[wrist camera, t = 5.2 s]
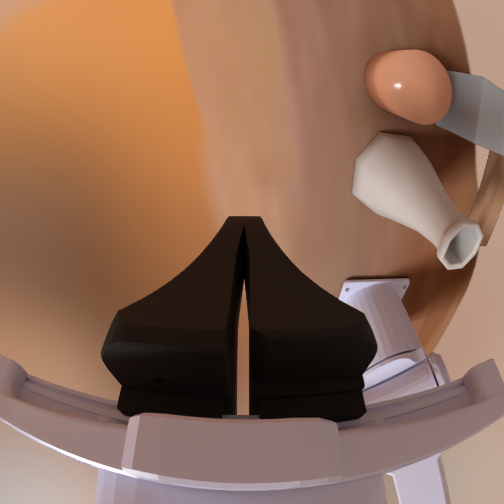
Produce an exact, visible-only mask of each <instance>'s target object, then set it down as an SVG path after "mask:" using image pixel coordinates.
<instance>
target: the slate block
mask: <svg viewBox="0 0 504 504" xmlns="http://www.w3.org/2000/svg"><path fill="white" fill-rule="evenodd" d="M446 71H447V73H448V76H449V78H450V82H451V87H452V100H451V104H450V107H449V110H448V111H447V113H446V115H445V116H444V117H443V118H442V119H441V120H440V121H438V122H436V125H437V126H439V127H441V128H444V129H446V130H448V131H450V132H452V133H454V134H456V135H459V136H461V137H463V138H465V139H467V140H468V141H470V142H472V143H474V144H477V145H480V146H482V147H484V148H487V149H489V150H492V151H494V152H496V153H498V154H501V155H503V156H504V90H502V89H501V88H499V87H497V86H496V85H495V84H493V83H492V82H490V81H488V80H487V79H485V78H484V77H481V76H476V75H471V74H466V73H460V72H454V71H448V70H446Z"/></svg>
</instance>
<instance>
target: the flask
mask: <svg viewBox="0 0 504 504" xmlns="http://www.w3.org/2000/svg"><path fill="white" fill-rule="evenodd" d="M352 194H353V195H354V196H356V197H357V198H358V199H359V200H360V201H361V202H363V203H364V204H365V205H366V206H367V207H368V208H369V209H371V210H372V211H373V212H374V213H376V214H379V215H381V216H384V217H386V218H389V219H392V220H394V221H397V222H399V223H401V224H403V225H405V226H407V227H409V228H412V229H414V230H416V231H418V232H419V233H421V234H422V235H423V236H424V237H426V238H427V239H428V240H429V241H431V242H432V243H433V244H434V245H435V246H436V248H437V257H438V258H439V260H440V261H441V262H442V263H443V264H444V266H445V267H446V268H447V269H448V270H451V269H460V268H463V267H464V266H465V265H466V264H467V263H468V262H469V261H470V260H471V259H472V258H473V257H474V256H475V255H476V253H477V251H478V249H479V246H480V244H481V242H482V239H483V237H484V234H483V232H482V230H481V228H480V226H479V224H478V223H477V222H476V221H475V220H473V219H466V218H465V217H464V216H463V215H462V214H461V213H460V212H459V211H458V210H457V209H456V208H455V206H454V205H453V203H452V202H451V201H450V199H449V198H448V196H447V194H446V192H445V190H444V188H443V186H442V184H441V182H440V180H439V178H438V176H437V174H436V172H435V170H434V168H433V166H432V164H431V162H430V161H429V159H428V158H427V156H426V155H425V154H424V153H423V151H422V150H421V149H420V148H419V146H418V145H417V144H416V143H415V141H414V140H413V139H412V138H411V137H410V136H404V135H397V134H390V133H382V132H379V133H378V134H377V135H376V137H375V138H374V139H373V140H372V141H371V142H370V144H369V145H368V146H367V147H366V148H365V149H364V151H363V152H362V153H361V154H360V155H359V156H358V157H357V159H356V164H355V173H354V181H353V189H352Z"/></svg>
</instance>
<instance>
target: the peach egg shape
mask: <svg viewBox="0 0 504 504" xmlns="http://www.w3.org/2000/svg"><path fill="white" fill-rule="evenodd" d="M364 81H365V86H366V89H367V92H368V94H369V96H370V98H371V99H372V100H373V102H374V103H375V104H376V105H377V106H379V107H380V108H381V109H383V110H385V111H387V112H390V113H392V114H395V115H397V116H400V117H403V118H405V119H408V120H410V121H412V122H415V123H417V124H421V125H430V124H434V123H436V122H438V121H440V120H441V119H442V118H443V117H444V116H445V115H446V113H447V111H448V110H449V107H450V104H451V100H452V87H451V82H450V78H449V76H448V73H447V71H446V70H445V68H444V66H443V65H442V64H441V63H440V61H439V60H438V59H436V58H435V57H434V56H433V55H431V54H429V53H427V52H425V51H422V50H394V51H383V52H380V53H377V54H376V55H374V56H373V57H372V58H371V59H370V60H369V62H368V63H367V66H366V68H365V73H364Z"/></svg>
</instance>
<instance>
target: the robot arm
mask: <svg viewBox="0 0 504 504" xmlns="http://www.w3.org/2000/svg"><path fill="white" fill-rule="evenodd" d="M244 280H245V291H246V301H247V311H248V320H249V415H237V346H238V322H239V313H240V306H241V299H242V291H243V283H244ZM409 284H410V280H409V279H408V278H397V279H367V280H347V281H345V282H344V284H343V287H342V290H341V293H340V296H339V299H337V298H336V297H334V296H333V295H331V294H330V293H328V292H327V291H325V290H324V289H322V288H321V287H320V286H318V285H317V284H316V283H314V282H313V281H312V280H311V279H309V278H308V277H307V276H306V275H305V274H303V273H302V272H301V271H300V270H299V269H298V268H297V267H296V266H295V265H294V264H293V263H292V262H291V260H290V259H289V258H288V257H287V256H286V255H285V253H284V252H283V251H282V250H281V248H280V247H279V246H278V244H277V243H276V242H275V240H274V239H273V237H272V236H271V234H270V233H269V231H268V229H267V228H266V226H265V224H264V222H263V220H262V218H261V217H260V216H229V217H228V218H227V219H226V221H225V223H224V224H223V226H222V227H221V229H220V230H219V232H218V233H217V234H216V236H215V237H214V238H213V240H212V241H211V242H210V243H209V245H208V246H207V247H206V248H205V249H204V250H203V252H202V253H201V254H200V255H199V256H198V257H197V258H196V259H195V260H194V261H193V262H192V263H191V264H190V265H189V266H188V267H187V268H186V269H185V270H183V271H182V272H181V273H180V274H179V275H177V276H176V277H175V278H173V279H172V280H171V281H169V282H168V283H167V284H165V285H164V286H162V287H161V288H159V289H158V290H156V291H154V292H153V293H151V294H149V295H148V296H146V297H144V298H143V299H141V300H139V301H137V302H135V303H133V304H131V305H129V306H127V307H125V308H123V309H121V310H119V311H118V312H117V314H116V316H115V318H114V320H113V321H112V323H111V326H110V328H109V331H108V333H107V336H106V339H105V342H104V345H103V347H102V350H101V358H102V360H103V362H104V363H105V365H106V367H107V368H108V370H109V371H110V372H111V373H112V374H113V376H114V377H115V378H116V379H117V381H118V382H119V383H120V384H121V385H122V387H121V391H120V396H119V399H118V401H114V400H110V399H105V398H101V397H97V396H93V395H89V394H86V393H82V392H79V391H75V390H72V389H69V388H66V387H63V386H60V385H57V384H54V383H51V382H48V381H45V380H42V379H40V378H37V377H35V376H32V375H30V374H27V372H26V371H25V370H24V369H23V367H21V366H20V365H19V364H18V363H16V362H15V361H14V360H12V359H9V358H7V357H5V356H2V355H0V420H1V421H3V422H4V423H6V424H8V425H9V426H11V427H12V428H14V429H15V430H17V431H18V432H20V433H22V434H24V435H25V436H27V437H29V438H31V439H32V440H34V441H36V442H38V443H40V444H42V445H44V446H46V447H48V448H50V449H52V450H54V451H56V452H58V453H61V454H63V455H65V456H67V457H70V458H72V459H74V460H77V461H79V462H82V463H84V464H87V465H90V466H92V467H95V468H98V469H99V473H98V480H97V488H96V496H95V504H387V502H386V494H385V486H384V478H383V474H385V473H386V474H389V475H392V476H393V478H394V482H395V486H396V490H397V495H398V499H399V504H450V497H449V492H448V486H447V481H446V476H445V471H444V467H443V463H442V458H441V454H442V453H443V451H444V450H446V449H448V448H451V447H453V446H455V445H456V444H459V443H460V442H462V441H464V440H466V439H468V438H470V437H472V436H473V435H475V434H477V433H478V432H480V431H482V430H483V429H485V428H487V427H488V426H490V425H491V424H493V423H494V422H496V421H497V420H499V419H500V418H502V417H503V416H504V383H503V380H502V378H501V375H500V373H499V371H498V368H497V366H496V364H495V362H494V359H490V360H487V361H485V362H483V363H480V364H478V365H476V366H474V367H473V368H471V369H470V370H469V371H468V372H467V373H466V374H465V375H464V376H463V378H461V379H458V380H455V381H453V382H451V380H450V377H449V374H448V372H447V369H446V367H445V364H444V362H443V360H442V357H441V355H439V354H435V353H434V352H432V353H430V354H429V355H428V356H429V359H430V361H431V364H430V361H429V359H428V357H427V355H426V353H425V351H424V349H423V347H422V345H421V343H420V340H419V338H418V336H417V333H416V331H415V329H414V327H413V324H412V322H411V320H410V318H409V316H408V314H407V311H406V309H405V307H404V305H403V303H402V301H401V300H402V298H403V296H404V294H405V292H406V290H407V288H408V286H409ZM346 288H348V289H346ZM433 371H434V372H433Z"/></svg>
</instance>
